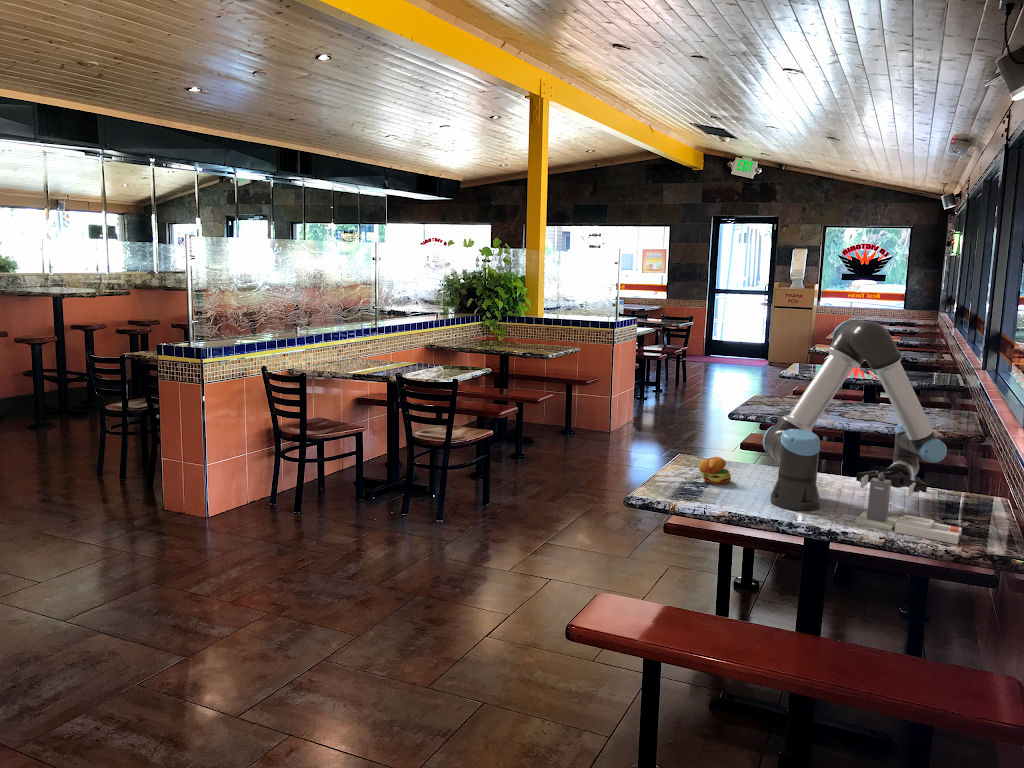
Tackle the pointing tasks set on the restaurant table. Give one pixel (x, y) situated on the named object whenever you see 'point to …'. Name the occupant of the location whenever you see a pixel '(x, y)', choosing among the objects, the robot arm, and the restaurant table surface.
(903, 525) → the power strip
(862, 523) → the mat
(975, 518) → the restaurant table surface
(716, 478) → the cheeseburger
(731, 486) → the restaurant table surface
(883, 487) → the block
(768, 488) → the restaurant table surface
